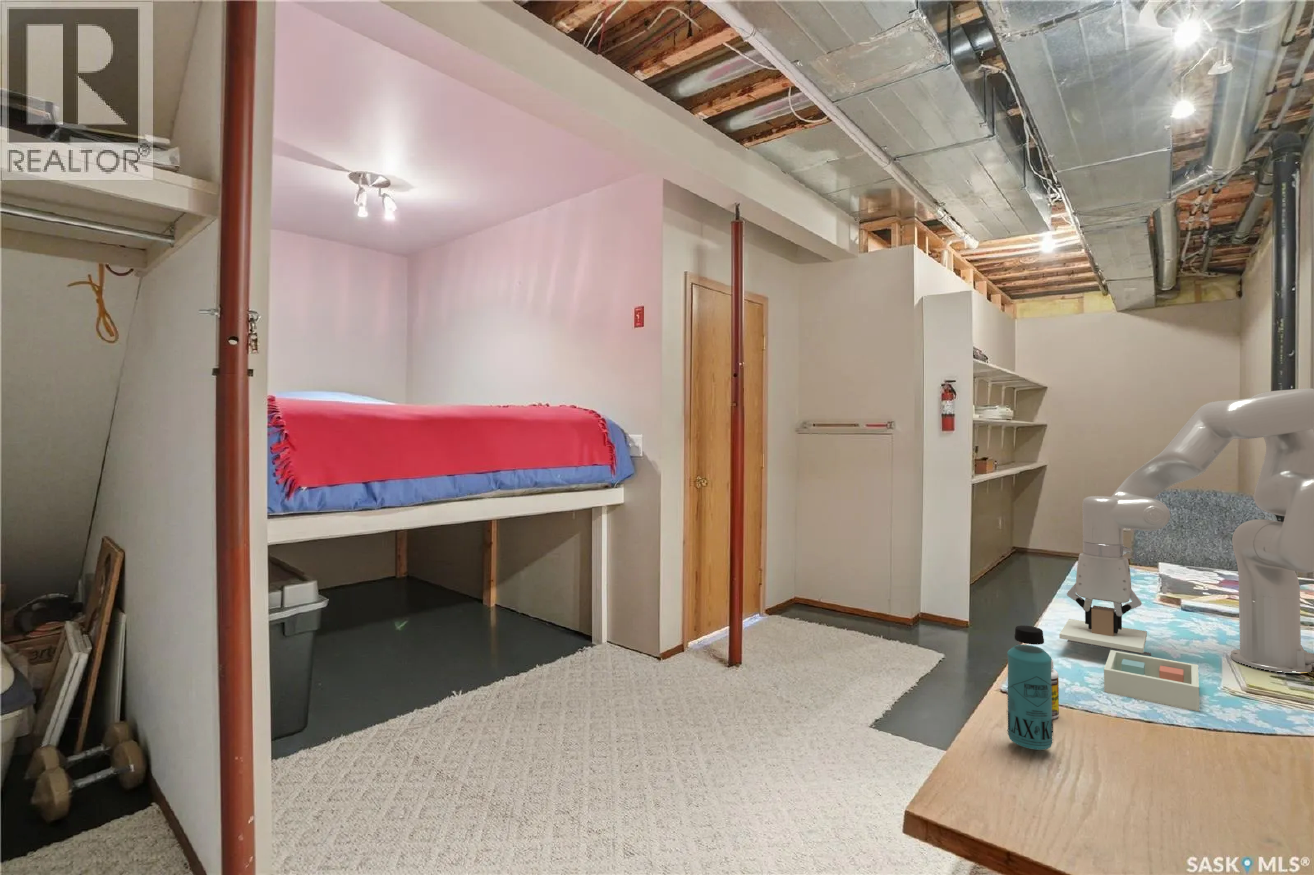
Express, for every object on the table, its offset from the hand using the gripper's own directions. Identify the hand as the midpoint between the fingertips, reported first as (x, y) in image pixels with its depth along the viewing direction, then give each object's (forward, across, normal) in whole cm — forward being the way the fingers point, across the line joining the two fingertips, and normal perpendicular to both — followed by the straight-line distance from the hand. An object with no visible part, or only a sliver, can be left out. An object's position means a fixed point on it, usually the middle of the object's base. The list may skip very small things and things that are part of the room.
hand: (1103, 629), depth 140 cm
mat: (+6, 0, 0) cm, 6 cm away
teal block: (+6, -6, +15) cm, 17 cm away
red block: (+6, -12, +15) cm, 20 cm away
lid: (+2, 0, 0) cm, 2 cm away
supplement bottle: (+7, +6, +42) cm, 43 cm away
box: (+6, -9, +18) cm, 21 cm away
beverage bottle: (+7, +5, +58) cm, 59 cm away
